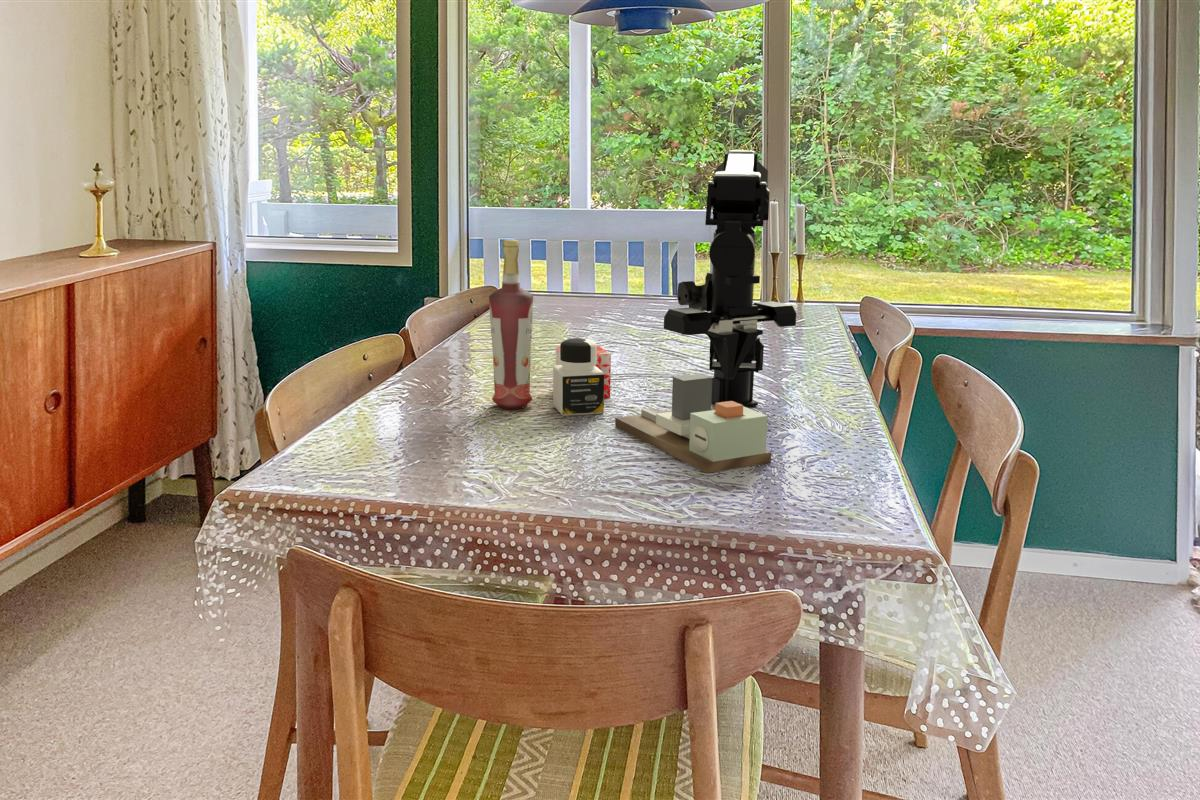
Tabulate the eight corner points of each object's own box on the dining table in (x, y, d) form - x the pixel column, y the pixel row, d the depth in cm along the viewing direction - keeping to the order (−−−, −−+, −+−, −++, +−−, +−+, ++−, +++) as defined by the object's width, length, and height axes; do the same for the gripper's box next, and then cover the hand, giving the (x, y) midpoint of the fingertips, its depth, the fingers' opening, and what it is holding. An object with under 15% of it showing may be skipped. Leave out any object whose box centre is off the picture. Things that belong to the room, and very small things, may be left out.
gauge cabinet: (740, 442, 154) (742, 406, 153) (765, 453, 149) (767, 415, 148) (686, 450, 150) (687, 413, 148) (710, 462, 145) (711, 423, 143)
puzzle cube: (555, 390, 191) (555, 347, 189) (597, 387, 193) (597, 345, 191) (567, 400, 183) (567, 356, 181) (610, 397, 186) (610, 353, 184)
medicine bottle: (562, 416, 173) (562, 345, 170) (552, 406, 179) (552, 336, 176) (604, 414, 174) (605, 343, 172) (592, 403, 181) (593, 335, 178)
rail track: (673, 418, 172) (674, 404, 171) (770, 462, 150) (771, 445, 149) (615, 426, 167) (615, 411, 166) (706, 473, 145) (707, 455, 144)
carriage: (700, 423, 162) (702, 369, 160) (726, 434, 156) (728, 379, 154) (655, 429, 159) (657, 374, 157) (680, 441, 153) (682, 384, 151)
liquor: (532, 412, 175) (531, 243, 168) (488, 411, 175) (485, 242, 168) (535, 401, 182) (534, 238, 175) (493, 400, 182) (490, 238, 175)
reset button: (730, 427, 150) (731, 400, 150) (742, 432, 148) (743, 405, 147) (714, 430, 149) (715, 402, 148) (725, 435, 147) (726, 407, 146)
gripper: (753, 258, 154) (748, 362, 158) (644, 263, 146) (641, 373, 149) (802, 266, 145) (795, 376, 149) (688, 272, 136) (684, 389, 140)
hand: (728, 378), depth 147 cm, fingers closed
